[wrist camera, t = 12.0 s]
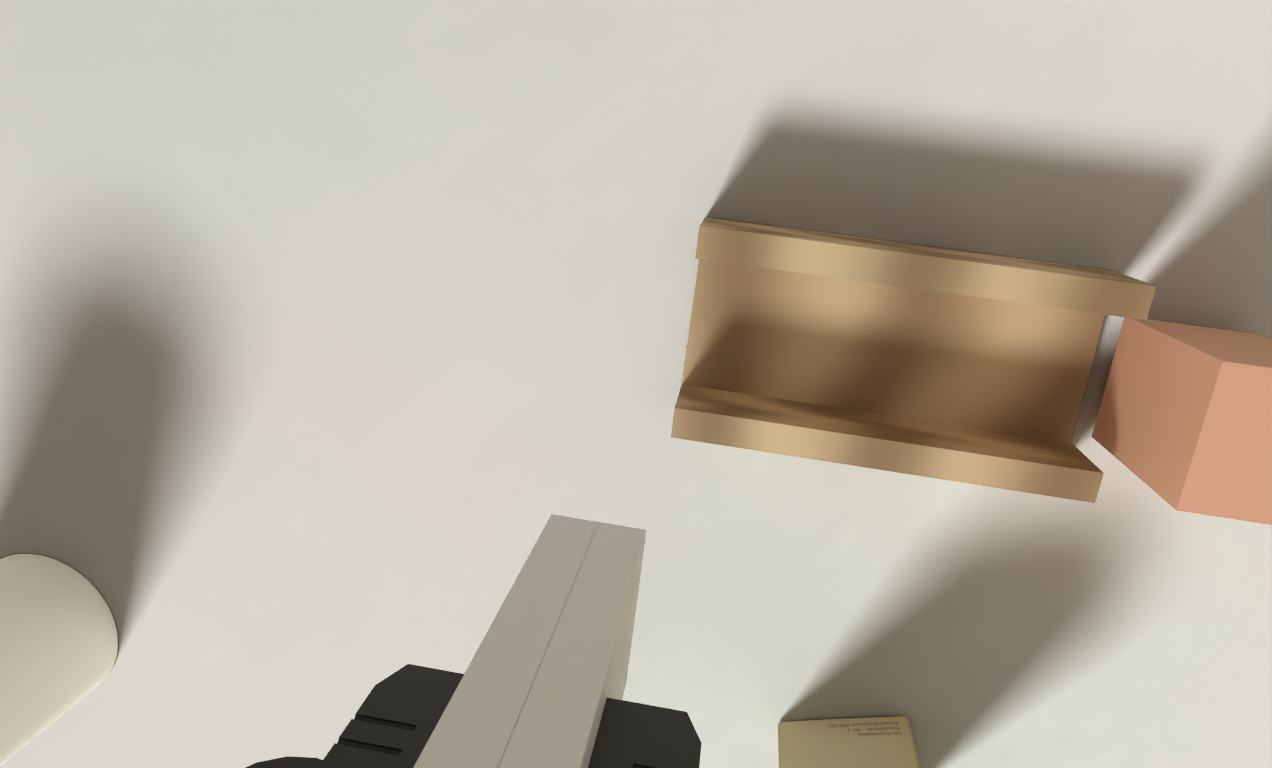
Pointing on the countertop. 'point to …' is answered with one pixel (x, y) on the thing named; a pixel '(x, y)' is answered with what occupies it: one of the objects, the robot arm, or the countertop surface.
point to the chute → (896, 355)
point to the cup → (48, 645)
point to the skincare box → (847, 743)
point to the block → (1193, 416)
